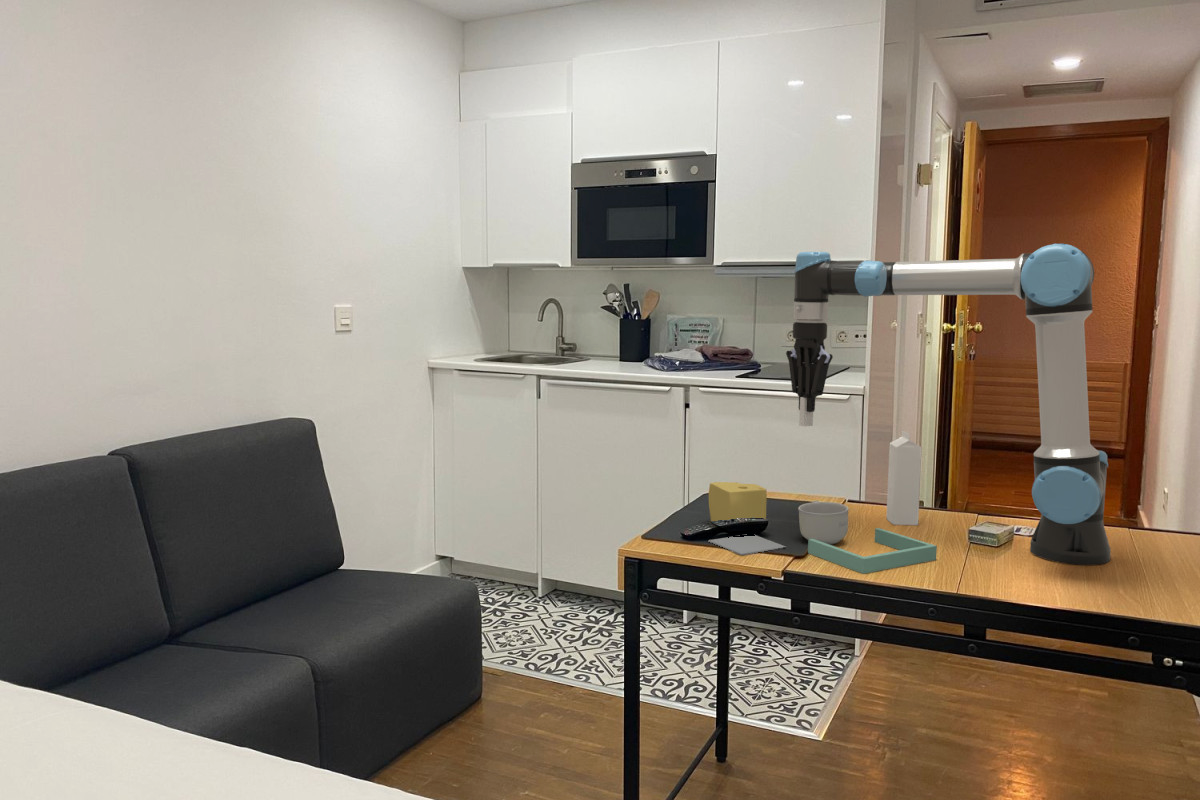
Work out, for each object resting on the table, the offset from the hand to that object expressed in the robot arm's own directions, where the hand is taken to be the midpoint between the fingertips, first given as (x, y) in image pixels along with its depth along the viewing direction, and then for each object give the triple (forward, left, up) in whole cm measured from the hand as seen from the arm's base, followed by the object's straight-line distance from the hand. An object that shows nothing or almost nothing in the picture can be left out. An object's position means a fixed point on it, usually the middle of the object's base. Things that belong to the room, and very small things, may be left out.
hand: (805, 425), depth 209 cm
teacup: (-6, 0, -25) cm, 26 cm away
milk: (-3, -28, -25) cm, 38 cm away
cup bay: (-21, 0, -25) cm, 33 cm away
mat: (-2, +18, -25) cm, 31 cm away
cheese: (+12, +10, -25) cm, 30 cm away
